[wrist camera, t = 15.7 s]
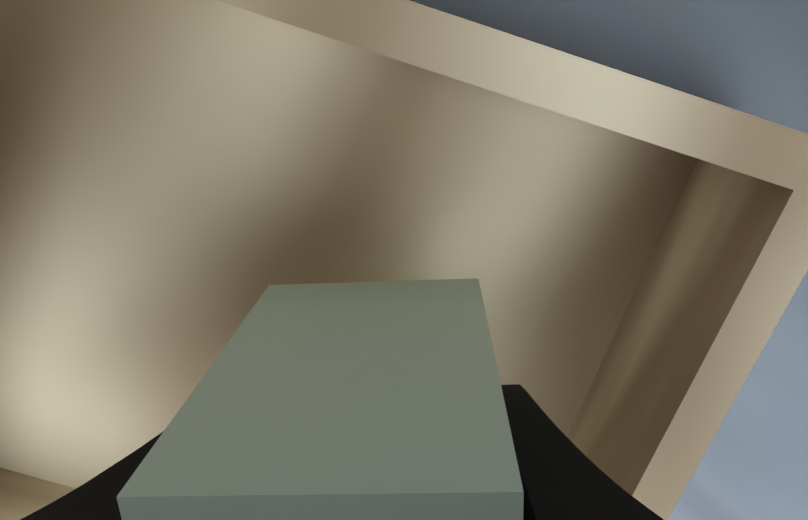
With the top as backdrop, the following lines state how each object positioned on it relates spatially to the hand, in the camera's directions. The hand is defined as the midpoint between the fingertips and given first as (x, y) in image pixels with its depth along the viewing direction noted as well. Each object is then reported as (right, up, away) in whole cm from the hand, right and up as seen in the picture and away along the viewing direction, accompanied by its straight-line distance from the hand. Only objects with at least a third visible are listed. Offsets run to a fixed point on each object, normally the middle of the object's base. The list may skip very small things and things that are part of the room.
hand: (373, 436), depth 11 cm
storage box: (-2, +2, +4) cm, 5 cm away
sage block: (0, +1, +1) cm, 2 cm away
